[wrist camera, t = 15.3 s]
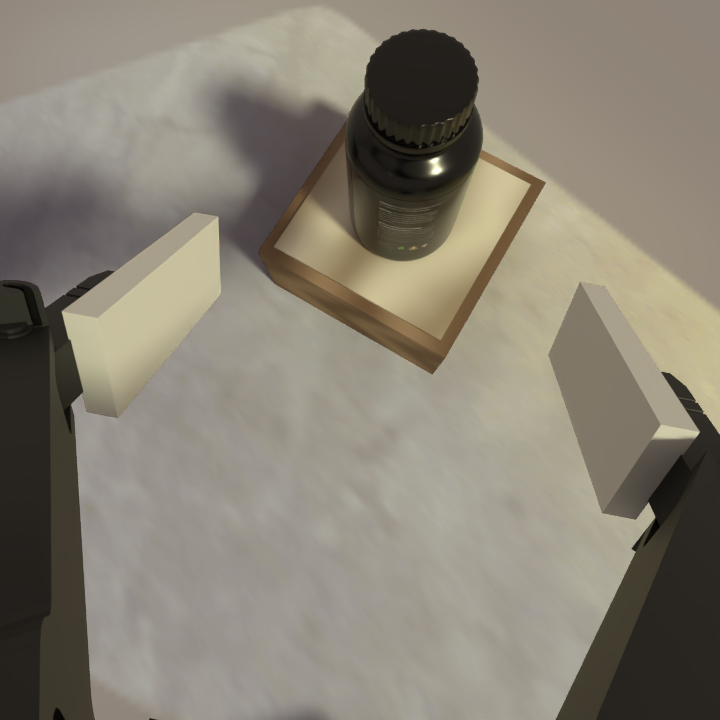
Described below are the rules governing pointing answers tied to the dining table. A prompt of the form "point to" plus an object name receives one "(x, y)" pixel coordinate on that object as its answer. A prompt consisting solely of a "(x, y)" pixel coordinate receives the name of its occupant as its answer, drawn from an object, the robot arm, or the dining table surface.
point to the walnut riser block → (397, 278)
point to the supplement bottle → (412, 144)
